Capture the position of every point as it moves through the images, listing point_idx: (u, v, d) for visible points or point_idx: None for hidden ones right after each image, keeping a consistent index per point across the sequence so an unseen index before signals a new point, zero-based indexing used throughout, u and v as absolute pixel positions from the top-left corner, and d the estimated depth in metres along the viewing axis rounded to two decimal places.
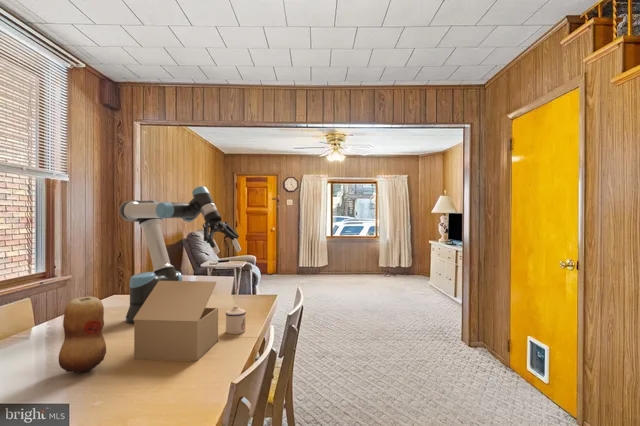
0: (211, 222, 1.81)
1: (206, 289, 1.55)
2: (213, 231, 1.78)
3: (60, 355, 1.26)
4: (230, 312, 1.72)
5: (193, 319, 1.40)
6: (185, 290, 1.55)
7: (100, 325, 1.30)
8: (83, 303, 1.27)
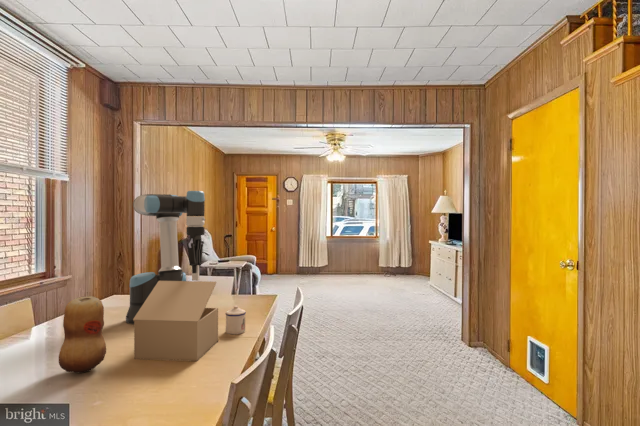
0: (194, 239, 1.64)
1: (206, 289, 1.55)
2: (197, 253, 1.66)
3: (60, 355, 1.26)
4: (230, 312, 1.72)
5: (193, 319, 1.40)
6: (185, 290, 1.55)
7: (100, 325, 1.30)
8: (83, 303, 1.27)
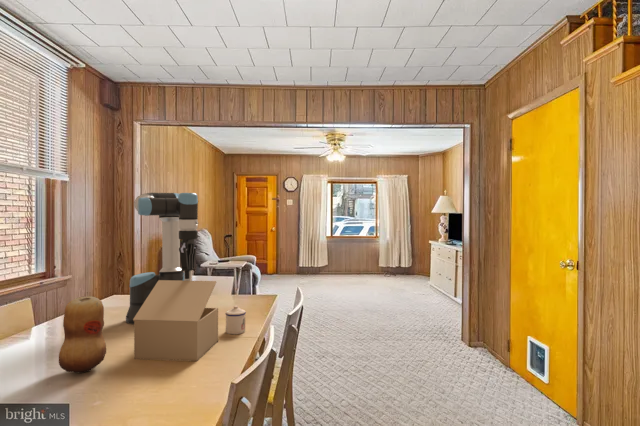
0: (187, 243, 1.57)
1: (206, 289, 1.55)
2: (189, 258, 1.59)
3: (60, 355, 1.26)
4: (230, 312, 1.72)
5: (193, 319, 1.40)
6: (185, 290, 1.54)
7: (100, 325, 1.30)
8: (83, 303, 1.27)
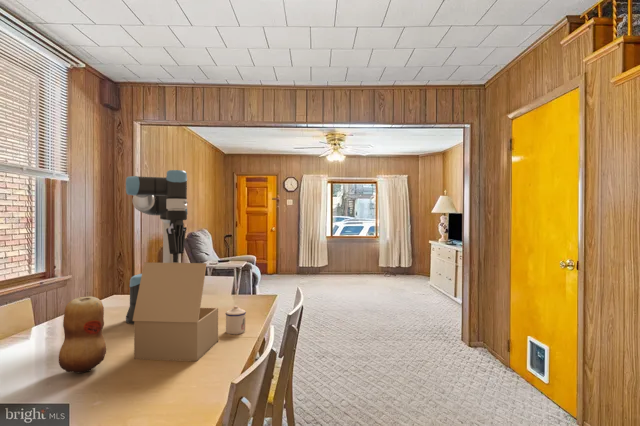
0: (175, 224, 1.46)
1: (197, 275, 1.46)
2: (178, 240, 1.48)
3: (60, 355, 1.26)
4: (230, 312, 1.72)
5: (192, 320, 1.40)
6: (176, 277, 1.46)
7: (100, 325, 1.30)
8: (83, 303, 1.27)
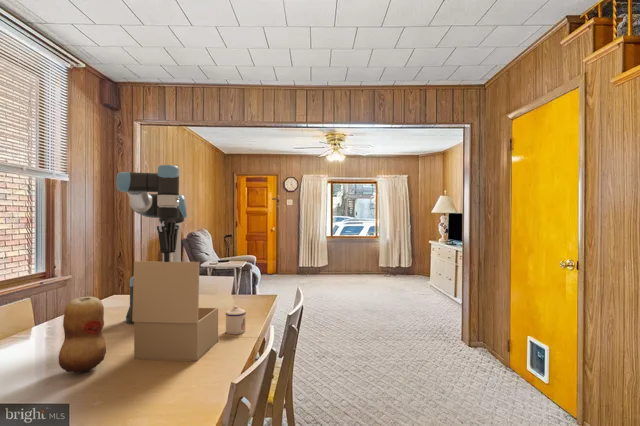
0: (166, 221, 1.39)
1: (191, 275, 1.40)
2: (169, 238, 1.42)
3: (60, 355, 1.26)
4: (230, 312, 1.72)
5: (192, 321, 1.39)
6: (169, 277, 1.41)
7: (100, 325, 1.30)
8: (83, 303, 1.27)
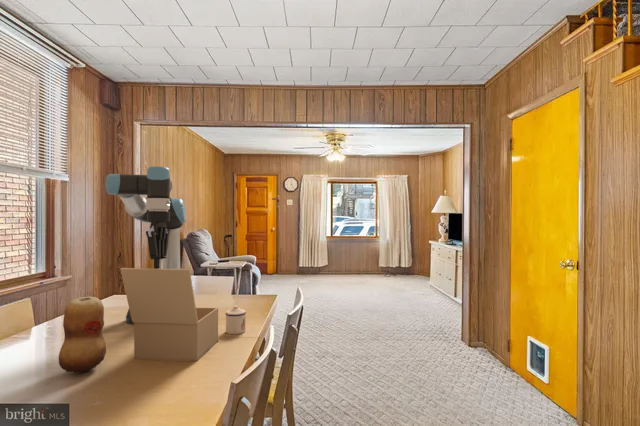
0: (156, 226, 1.32)
1: (183, 282, 1.34)
2: (159, 243, 1.34)
3: (60, 355, 1.26)
4: (230, 312, 1.72)
5: (192, 322, 1.39)
6: (161, 284, 1.35)
7: (100, 325, 1.30)
8: (83, 303, 1.27)
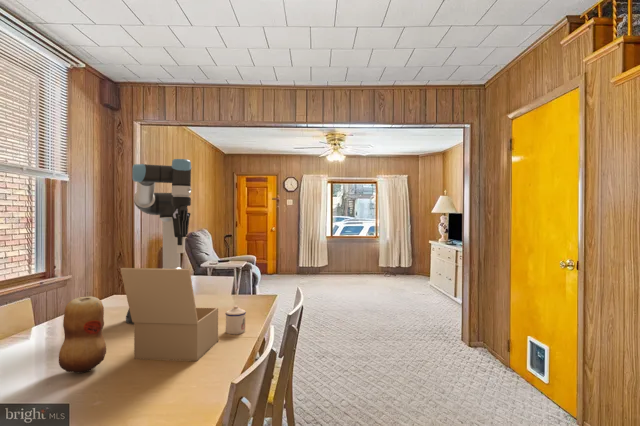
0: (179, 209, 1.57)
1: (183, 282, 1.34)
2: (182, 224, 1.59)
3: (60, 355, 1.26)
4: (230, 312, 1.72)
5: (192, 322, 1.39)
6: (161, 284, 1.35)
7: (100, 325, 1.30)
8: (83, 303, 1.27)
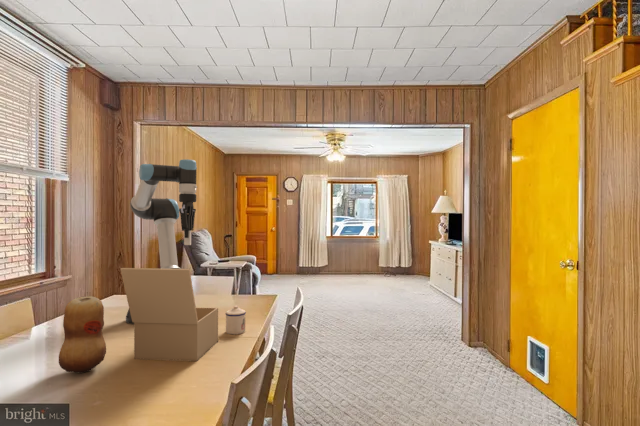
0: (186, 205, 1.73)
1: (183, 282, 1.34)
2: (189, 218, 1.75)
3: (60, 355, 1.26)
4: (230, 312, 1.72)
5: (192, 322, 1.39)
6: (161, 284, 1.35)
7: (100, 325, 1.30)
8: (83, 303, 1.27)
